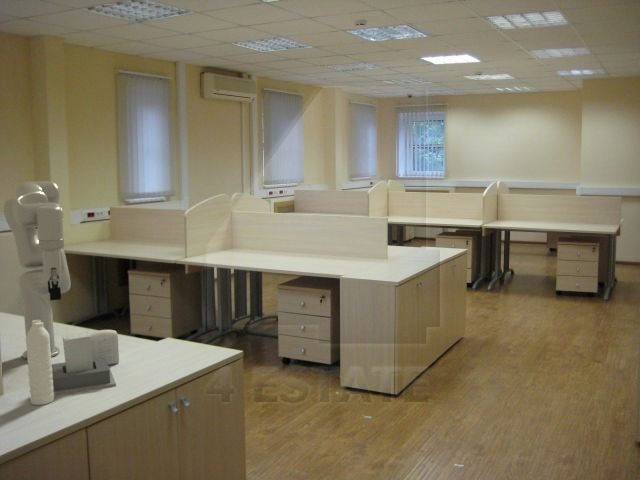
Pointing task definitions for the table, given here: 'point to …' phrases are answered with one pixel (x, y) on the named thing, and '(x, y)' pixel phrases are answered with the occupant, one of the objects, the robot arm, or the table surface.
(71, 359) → the skincare box
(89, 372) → the dock
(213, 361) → the table surface
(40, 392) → the water bottle
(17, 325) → the table surface
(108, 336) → the photo printer
